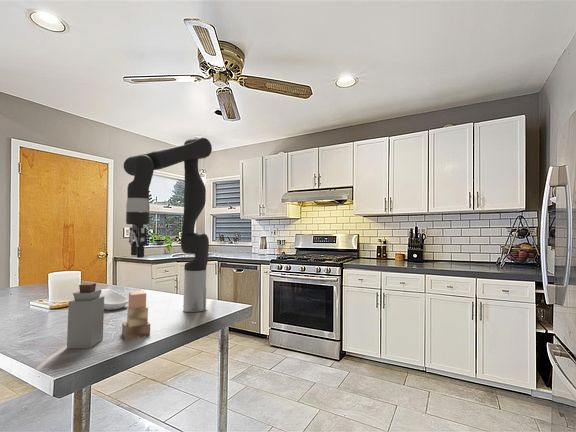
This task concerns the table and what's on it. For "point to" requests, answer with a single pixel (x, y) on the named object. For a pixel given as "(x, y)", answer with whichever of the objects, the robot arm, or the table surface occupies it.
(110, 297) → the spoon rest
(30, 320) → the table surface
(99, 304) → the perfume bottle
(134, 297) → the block
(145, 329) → the tower base
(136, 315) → the tower cube
